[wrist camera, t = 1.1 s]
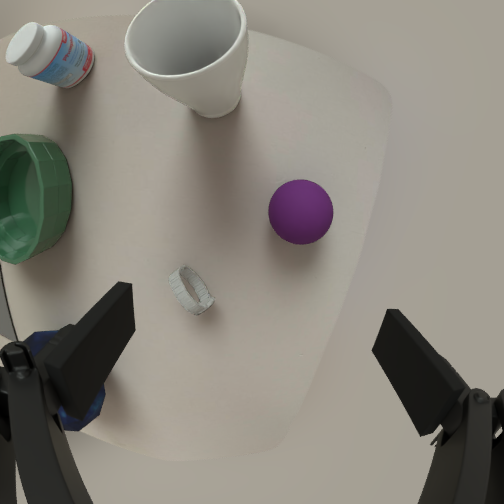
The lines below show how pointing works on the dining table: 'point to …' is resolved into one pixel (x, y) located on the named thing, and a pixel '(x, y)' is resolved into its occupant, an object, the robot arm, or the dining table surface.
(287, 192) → the ball
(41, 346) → the decorative orb
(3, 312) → the smartphone
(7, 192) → the bowl
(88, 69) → the pill bottle
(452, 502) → the robot arm
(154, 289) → the dining table surface
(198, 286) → the wristwatch
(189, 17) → the drinking glass
